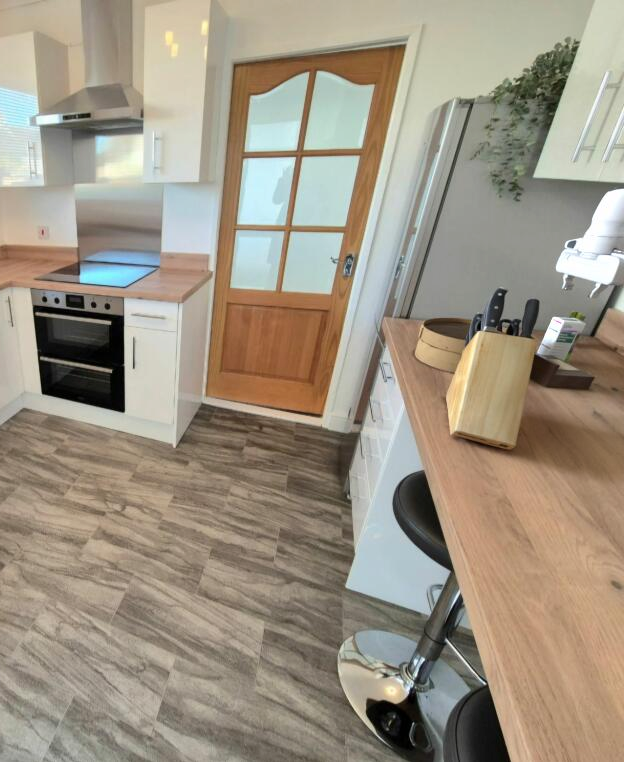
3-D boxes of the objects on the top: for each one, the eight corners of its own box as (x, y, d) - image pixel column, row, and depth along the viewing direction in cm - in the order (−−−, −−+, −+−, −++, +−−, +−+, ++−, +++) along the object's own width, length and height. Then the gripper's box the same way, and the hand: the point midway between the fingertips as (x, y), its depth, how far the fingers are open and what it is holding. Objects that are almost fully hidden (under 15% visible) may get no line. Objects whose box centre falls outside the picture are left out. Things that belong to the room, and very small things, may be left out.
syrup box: (543, 363, 139) (564, 321, 133) (533, 357, 144) (553, 315, 138) (565, 365, 138) (587, 322, 131) (554, 359, 143) (575, 317, 136)
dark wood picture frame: (547, 366, 137) (557, 346, 134) (588, 389, 123) (600, 367, 120) (508, 364, 139) (517, 344, 136) (545, 386, 125) (556, 365, 121)
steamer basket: (399, 358, 144) (409, 326, 139) (429, 342, 157) (439, 312, 152) (490, 384, 126) (506, 349, 121) (515, 363, 139) (530, 331, 134)
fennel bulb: (572, 348, 151) (589, 315, 146) (553, 345, 154) (569, 312, 149) (570, 343, 155) (586, 311, 150) (552, 340, 158) (567, 309, 153)
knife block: (492, 394, 120) (540, 285, 107) (511, 457, 94) (579, 323, 80) (443, 384, 126) (483, 279, 112) (448, 441, 100) (502, 313, 86)
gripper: (649, 252, 113) (622, 303, 119) (585, 241, 131) (564, 285, 137) (621, 251, 114) (596, 302, 120) (561, 240, 132) (542, 285, 138)
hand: (578, 293), depth 129 cm, fingers open, 8 cm apart
